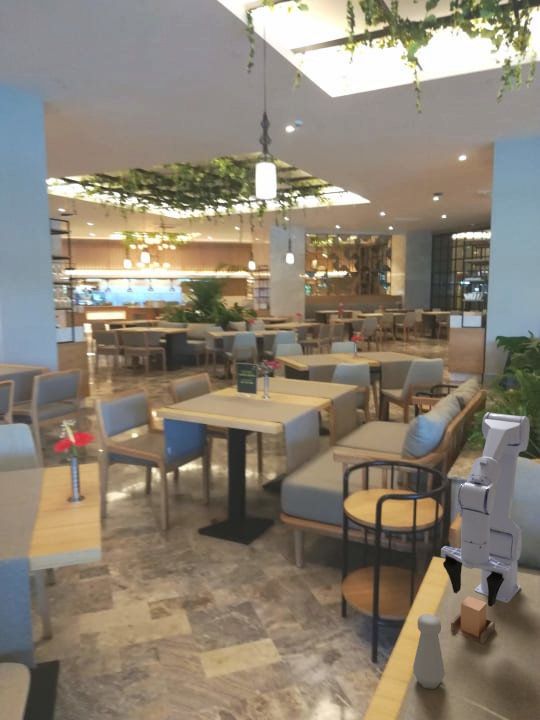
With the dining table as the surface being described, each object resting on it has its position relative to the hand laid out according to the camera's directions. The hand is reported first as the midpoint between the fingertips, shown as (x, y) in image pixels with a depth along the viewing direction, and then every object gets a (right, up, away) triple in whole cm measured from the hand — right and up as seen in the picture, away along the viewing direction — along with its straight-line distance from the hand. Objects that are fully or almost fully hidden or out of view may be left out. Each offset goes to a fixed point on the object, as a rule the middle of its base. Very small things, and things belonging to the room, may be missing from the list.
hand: (473, 597), depth 115 cm
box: (0, -8, +1) cm, 8 cm away
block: (0, -7, +1) cm, 7 cm away
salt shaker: (-14, -10, -14) cm, 22 cm away
